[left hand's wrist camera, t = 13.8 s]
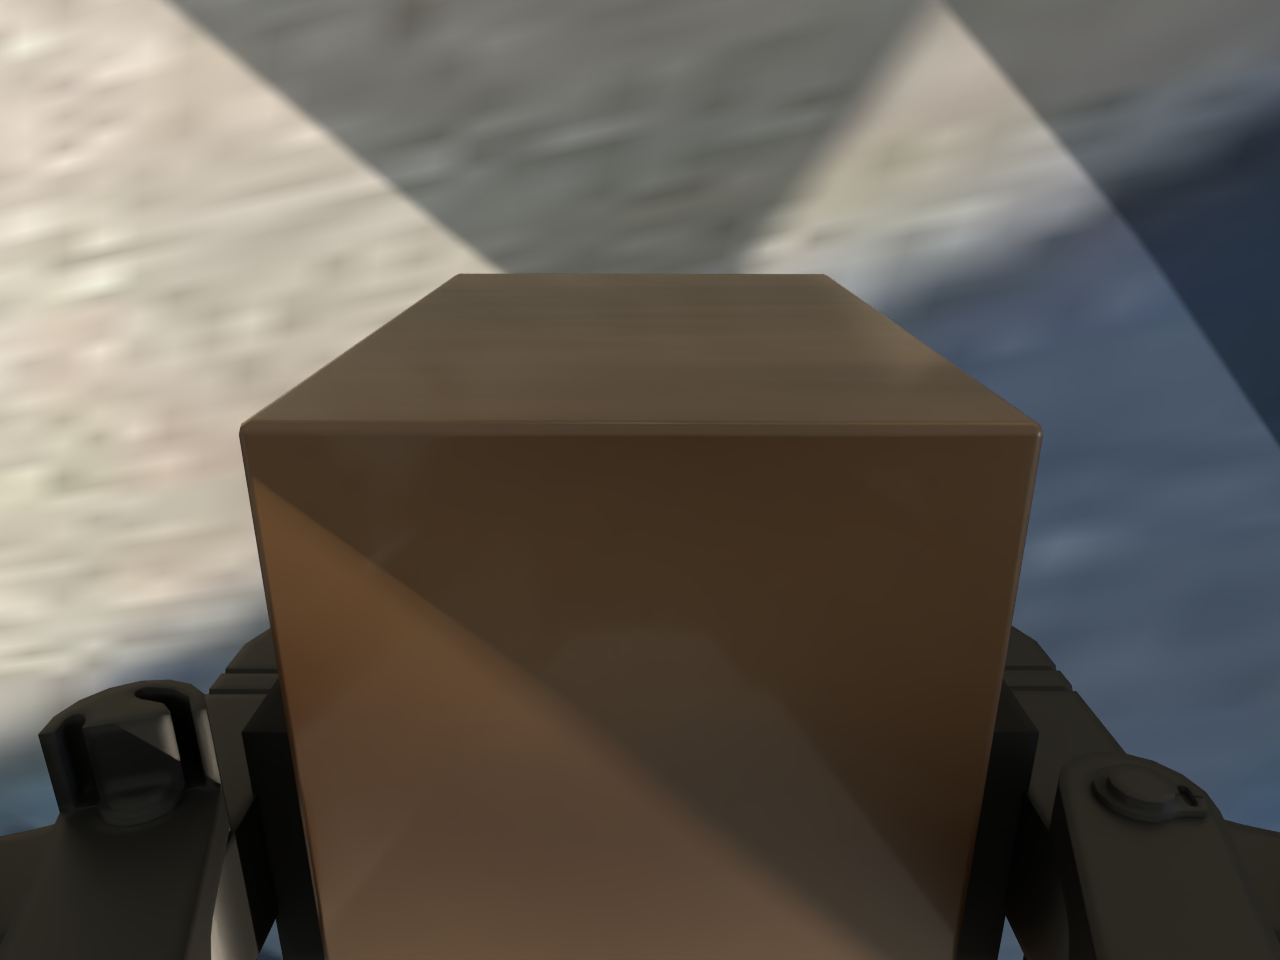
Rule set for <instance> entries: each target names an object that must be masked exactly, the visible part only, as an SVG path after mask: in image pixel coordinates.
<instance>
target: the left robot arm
mask: <svg viewBox="0 0 1280 960" xmlns="http://www.w3.org/2000/svg"><path fill="white" fill-rule="evenodd" d="M38 736H39V739H40V743H41V747H42V750H43V754H44V757H45V761H46V765H47V768H48V772H49V775H50V779H51V782H52V786H53V790H54V793H55V797H56V800H57V804H58V807H59V811H60V814H59V816H58V818H57V820H56V823H55V824H53V825H49V826H46V827H42V828H38V829H34V830H29V831H24V832H20V833H15V834H10V835H5V836H1V837H0V960H257V957H258V955H259V953H260V951H261V949H262V946H263V944H264V942H265V940H266V938H267V936H268V934H269V932H270V929H271V927H272V925H273V923H274V921H275V919H276V923H277V928H278V934H279V939H280V944H281V950H282V955H283V960H325V958H324V952H323V946H322V940H321V934H320V928H319V922H318V916H317V909H316V903H315V897H314V891H313V885H312V879H311V873H310V867H309V861H308V854H307V848H306V842H305V836H304V830H303V824H302V818H301V812H300V805H299V799H298V793H297V787H296V781H295V775H294V769H293V763H292V756H291V750H290V744H289V738H288V732H287V726H286V720H285V714H284V707H283V701H282V695H281V689H280V683H279V677H278V671H277V665H276V658H275V652H274V646H273V640H272V634H271V628H270V629H268V630H267V631H265V632H263V633H262V634H260V635H259V636H257V637H256V638H254V639H253V640H251V641H249V642H248V643H246V644H245V645H244V646H243V647H242V649H241V650H240V651H239V652H238V654H237V655H236V656H235V657H234V659H233V660H232V661H231V663H230V664H229V665H228V666H227V668H226V672H225V674H221V675H220V676H219V678H218V679H217V680H216V681H215V683H214V684H213V685H212V686H211V688H210V689H209V694H203V693H202V692H201V691H200V690H198V689H197V688H196V687H194V686H193V685H192V684H188V683H183V682H178V681H173V680H151V681H139V682H134V683H130V684H125V685H121V686H117V687H112V688H109V689H106V690H104V691H101V692H99V693H96V694H94V695H91V696H89V697H87V698H84V699H82V700H79V701H78V702H76V703H74V704H73V705H71V706H70V707H68V708H67V709H65V710H64V711H62V712H60V713H59V714H57V715H56V716H54V717H53V718H52V719H51V721H50V722H49V723H48V724H47V725H46V726H45V727H44V729H43V730H42V731H41V732H40V733H39V734H38ZM1005 916H1006V917H1007V919H1008V921H1009V923H1010V925H1011V928H1012V930H1013V932H1014V934H1015V936H1016V938H1017V940H1018V942H1019V944H1020V947H1021V949H1022V951H1023V953H1024V956H1023V960H1280V832H1275V831H1270V830H1265V829H1261V828H1256V827H1251V826H1246V825H1242V824H1239V823H1235V822H1231V821H1228V820H1224V819H1223V817H1222V814H1221V812H1220V811H1219V809H1218V808H1217V807H1216V805H1215V804H1214V803H1213V801H1212V800H1211V798H1210V797H1209V796H1208V794H1207V793H1206V792H1205V791H1204V790H1202V789H1201V788H1200V787H1198V786H1197V785H1196V784H1194V783H1193V782H1192V781H1190V780H1189V779H1188V778H1186V777H1185V776H1184V775H1182V774H1180V773H1178V772H1176V771H1174V770H1172V769H1169V768H1167V767H1165V766H1163V765H1161V764H1159V763H1157V762H1154V761H1152V760H1148V759H1144V758H1140V757H1136V756H1133V755H1129V754H1126V753H1125V751H1124V750H1123V749H1122V748H1121V746H1120V745H1119V744H1118V743H1117V741H1116V740H1115V739H1114V738H1113V736H1112V735H1111V734H1110V733H1109V731H1108V730H1107V729H1106V728H1105V726H1104V725H1103V724H1102V723H1101V721H1100V720H1099V719H1098V718H1097V716H1096V715H1095V714H1094V713H1093V711H1092V710H1091V709H1090V708H1089V706H1088V705H1087V704H1086V703H1085V701H1084V700H1083V699H1082V698H1081V696H1080V695H1079V694H1078V693H1077V691H1072V685H1071V684H1070V683H1069V681H1068V680H1067V679H1066V678H1065V676H1064V675H1063V674H1062V673H1061V671H1056V665H1055V664H1054V663H1053V661H1052V660H1051V659H1050V658H1049V656H1048V655H1047V654H1046V653H1045V651H1044V650H1043V649H1042V648H1041V646H1040V645H1039V644H1038V643H1037V641H1035V640H1033V639H1032V638H1030V637H1029V636H1027V635H1026V634H1024V633H1022V632H1021V631H1019V630H1018V629H1016V628H1015V627H1013V626H1011V631H1010V637H1009V643H1008V649H1007V655H1006V661H1005V667H1004V673H1003V679H1002V685H1001V691H1000V697H999V703H998V709H997V715H996V721H995V727H994V733H993V739H992V746H991V752H990V758H989V764H988V770H987V776H986V782H985V788H984V794H983V800H982V806H981V812H980V818H979V824H978V830H977V836H976V842H975V848H974V854H973V860H972V866H971V872H970V878H969V884H968V890H967V896H966V902H965V908H964V914H963V920H962V926H961V932H960V938H959V944H958V950H957V956H956V960H997V959H998V954H999V948H1000V943H1001V937H1002V932H1003V927H1004V921H1005Z"/></svg>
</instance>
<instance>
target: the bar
mask: <svg viewBox="0 0 1280 960" xmlns="http://www.w3.org/2000/svg"><path fill="white" fill-rule="evenodd" d="M239 438H240V444H241V450H242V456H243V462H244V469H245V475H246V481H247V487H248V493H249V499H250V505H251V511H252V518H253V524H254V530H255V536H256V542H257V548H258V554H259V560H260V567H261V573H262V579H263V585H264V591H265V597H266V603H267V609H268V616H269V622H270V628H271V634H272V640H273V646H274V652H275V658H276V665H277V671H278V677H279V683H280V689H281V695H282V701H283V707H284V714H285V720H286V726H287V732H288V738H289V744H290V750H291V756H292V763H293V769H294V775H295V781H296V787H297V793H298V799H299V805H300V812H301V818H302V824H303V830H304V836H305V842H306V848H307V854H308V861H309V867H310V873H311V879H312V885H313V891H314V897H315V903H316V909H317V916H318V922H319V928H320V934H321V940H322V946H323V952H324V958H325V960H956V956H957V950H958V944H959V938H960V932H961V926H962V920H963V914H964V908H965V902H966V896H967V890H968V884H969V878H970V872H971V866H972V860H973V854H974V848H975V842H976V836H977V830H978V824H979V818H980V812H981V806H982V800H983V794H984V788H985V782H986V776H987V770H988V764H989V758H990V752H991V746H992V739H993V733H994V727H995V721H996V715H997V709H998V703H999V697H1000V691H1001V685H1002V679H1003V673H1004V667H1005V661H1006V655H1007V649H1008V643H1009V637H1010V631H1011V625H1012V619H1013V613H1014V607H1015V601H1016V595H1017V589H1018V583H1019V577H1020V571H1021V565H1022V559H1023V553H1024V547H1025V541H1026V535H1027V529H1028V522H1029V516H1030V510H1031V504H1032V498H1033V492H1034V486H1035V480H1036V474H1037V468H1038V462H1039V456H1040V450H1041V444H1042V438H1043V433H1042V429H1041V426H1040V424H1038V423H1037V422H1035V421H1034V420H1033V419H1031V418H1030V417H1028V416H1027V415H1025V414H1024V413H1023V412H1021V411H1020V410H1018V409H1017V408H1015V407H1014V406H1013V405H1011V404H1010V403H1008V402H1007V401H1005V400H1004V399H1003V398H1001V397H1000V396H998V395H997V394H996V393H994V392H993V391H991V390H990V389H988V388H987V387H986V386H984V385H983V384H981V383H980V382H978V381H977V380H976V379H974V378H973V377H971V376H970V375H968V374H967V373H966V372H964V371H963V370H961V369H960V368H958V367H957V366H956V365H954V364H953V363H951V362H950V361H948V360H947V359H946V358H944V357H943V356H941V355H940V354H938V353H937V352H936V351H934V350H933V349H931V348H930V347H928V346H927V345H926V344H924V343H923V342H921V341H920V340H918V339H917V338H916V337H914V336H913V335H911V334H910V333H908V332H907V331H906V330H904V329H903V328H901V327H900V326H899V325H897V324H896V323H894V322H893V321H891V320H890V319H889V318H887V317H886V316H884V315H883V314H881V313H880V312H879V311H877V310H876V309H874V308H873V307H871V306H870V305H869V304H867V303H866V302H864V301H863V300H861V299H860V298H859V297H857V296H856V295H854V294H853V293H851V292H850V291H849V290H847V289H846V288H844V287H843V286H841V285H840V284H839V283H837V282H836V281H834V280H833V279H831V278H830V277H829V276H827V275H824V274H458V275H455V276H454V277H452V278H451V279H450V280H448V281H447V282H445V283H444V284H442V285H441V286H439V287H438V288H437V289H435V290H434V291H432V292H431V293H429V294H428V295H426V296H425V297H424V298H422V299H421V300H419V301H418V302H416V303H415V304H414V305H412V306H411V307H409V308H408V309H406V310H405V311H403V312H402V313H401V314H399V315H398V316H396V317H395V318H393V319H392V320H390V321H389V322H388V323H386V324H385V325H383V326H382V327H380V328H379V329H377V330H376V331H375V332H373V333H372V334H370V335H369V336H367V337H366V338H364V339H363V340H362V341H360V342H359V343H357V344H356V345H354V346H353V347H351V348H350V349H349V350H347V351H346V352H344V353H343V354H341V355H340V356H338V357H337V358H336V359H334V360H333V361H331V362H330V363H328V364H327V365H326V366H324V367H323V368H321V369H320V370H318V371H317V372H315V373H314V374H313V375H311V376H310V377H308V378H307V379H305V380H304V381H302V382H301V383H300V384H298V385H297V386H295V387H294V388H292V389H291V390H289V391H288V392H287V393H285V394H284V395H282V396H281V397H279V398H278V399H276V400H275V401H274V402H272V403H271V404H269V405H268V406H266V407H265V408H263V409H262V410H261V411H259V412H258V413H256V414H255V415H253V416H252V417H250V418H249V419H248V420H246V421H245V422H243V423H242V424H241V427H240V431H239Z"/></svg>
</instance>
